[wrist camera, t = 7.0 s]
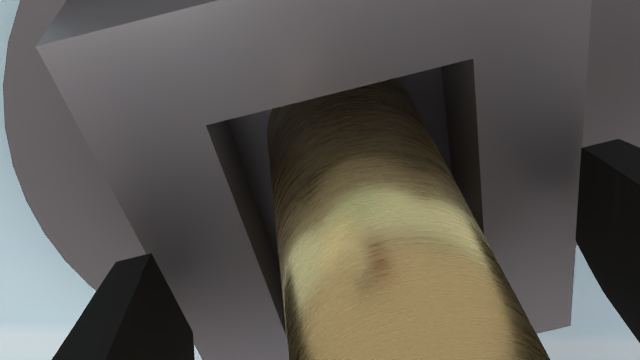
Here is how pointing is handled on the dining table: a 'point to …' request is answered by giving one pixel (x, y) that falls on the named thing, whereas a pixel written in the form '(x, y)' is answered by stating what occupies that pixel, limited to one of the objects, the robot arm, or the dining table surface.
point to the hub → (291, 87)
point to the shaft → (382, 239)
